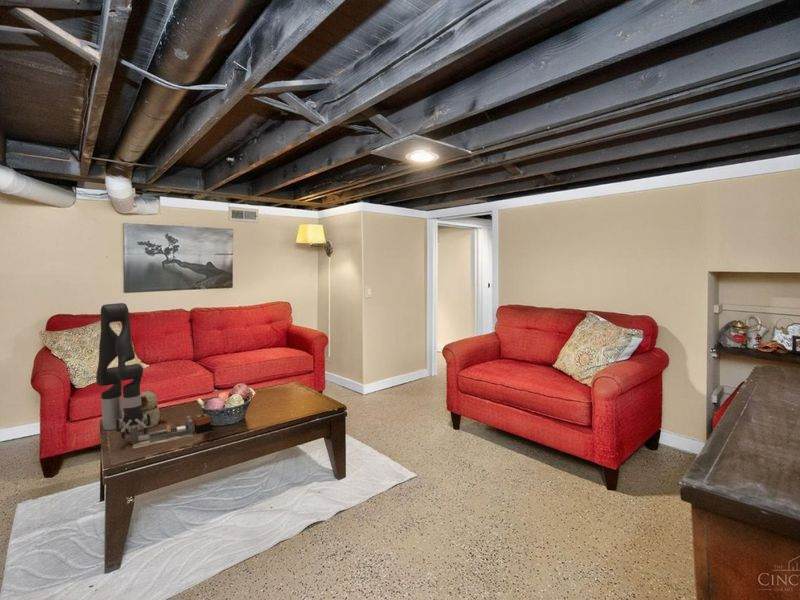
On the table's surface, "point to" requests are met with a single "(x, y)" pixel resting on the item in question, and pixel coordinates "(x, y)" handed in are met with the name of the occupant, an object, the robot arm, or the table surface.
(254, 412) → the table surface
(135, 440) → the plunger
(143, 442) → the gauge board
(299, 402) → the table surface
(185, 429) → the marker
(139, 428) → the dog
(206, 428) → the battery
